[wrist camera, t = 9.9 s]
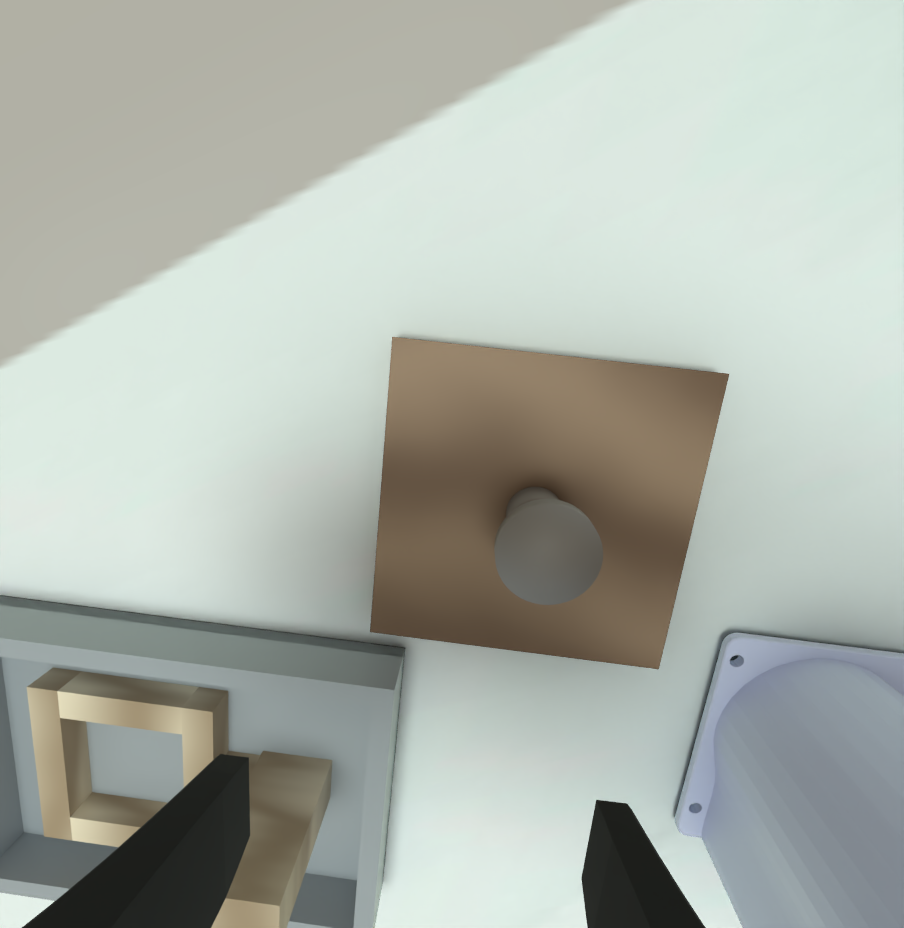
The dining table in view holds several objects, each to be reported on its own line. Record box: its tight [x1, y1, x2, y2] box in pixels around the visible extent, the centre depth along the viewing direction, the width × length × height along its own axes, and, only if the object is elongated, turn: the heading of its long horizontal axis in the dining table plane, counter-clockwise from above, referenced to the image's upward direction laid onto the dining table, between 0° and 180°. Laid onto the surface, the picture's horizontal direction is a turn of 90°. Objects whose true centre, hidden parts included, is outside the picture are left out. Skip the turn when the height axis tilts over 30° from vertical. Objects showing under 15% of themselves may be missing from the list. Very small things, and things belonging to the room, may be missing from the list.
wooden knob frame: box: [27, 668, 332, 928], centre depth 18 cm, size 12×8×6 cm, turn 84°
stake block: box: [370, 337, 729, 669], centre depth 16 cm, size 11×11×5 cm
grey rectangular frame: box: [0, 596, 405, 928], centre depth 20 cm, size 13×18×2 cm
